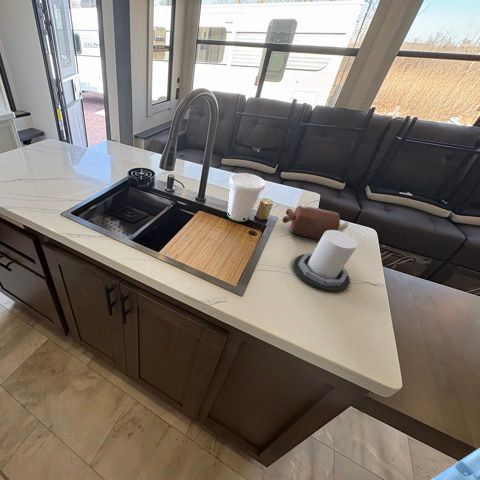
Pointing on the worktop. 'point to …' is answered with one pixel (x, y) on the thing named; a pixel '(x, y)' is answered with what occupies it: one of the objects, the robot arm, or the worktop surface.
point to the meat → (313, 221)
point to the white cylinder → (331, 254)
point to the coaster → (315, 285)
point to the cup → (243, 195)
